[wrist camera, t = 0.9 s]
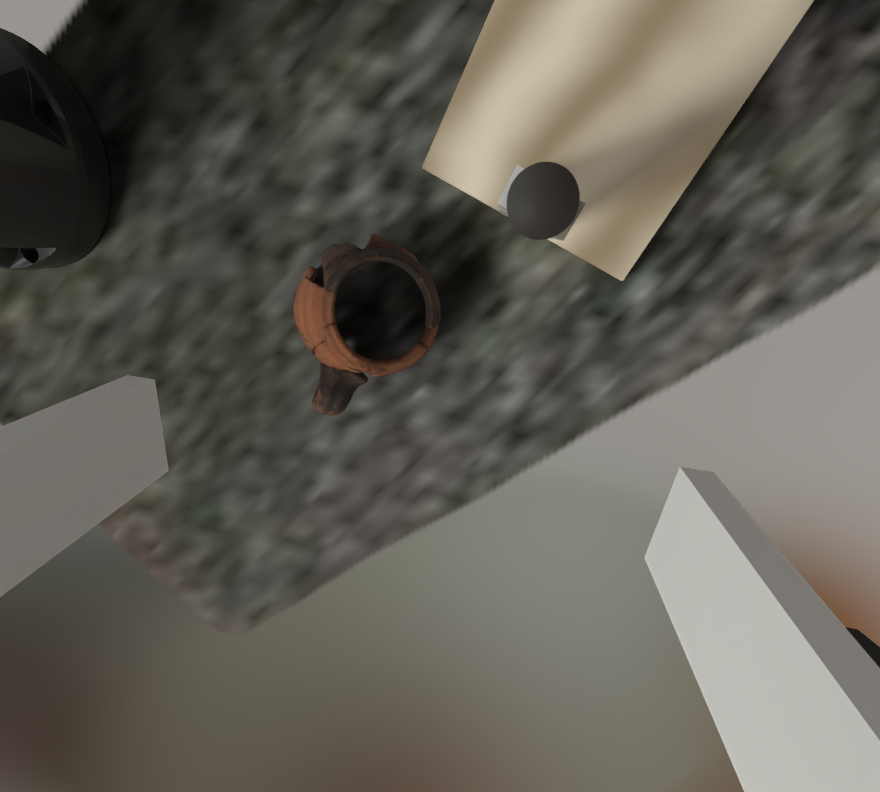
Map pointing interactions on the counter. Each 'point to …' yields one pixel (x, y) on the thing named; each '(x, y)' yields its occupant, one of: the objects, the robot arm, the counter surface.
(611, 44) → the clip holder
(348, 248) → the pottery mug
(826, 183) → the counter surface
